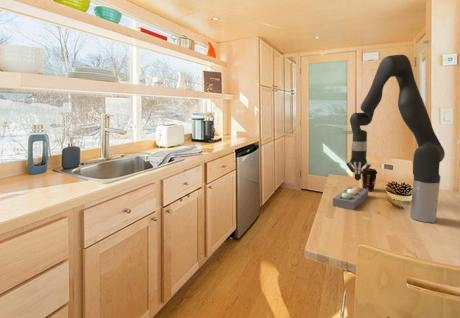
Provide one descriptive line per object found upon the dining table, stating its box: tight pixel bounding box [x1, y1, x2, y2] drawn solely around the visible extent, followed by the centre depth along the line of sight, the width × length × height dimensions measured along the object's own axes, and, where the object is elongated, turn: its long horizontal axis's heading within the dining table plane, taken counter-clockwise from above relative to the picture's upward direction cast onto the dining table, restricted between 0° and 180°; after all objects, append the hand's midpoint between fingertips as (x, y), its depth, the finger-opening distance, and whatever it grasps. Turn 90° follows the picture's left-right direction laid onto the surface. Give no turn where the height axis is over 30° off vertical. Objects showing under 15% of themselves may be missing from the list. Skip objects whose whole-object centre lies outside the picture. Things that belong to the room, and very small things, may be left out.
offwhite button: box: [346, 188, 356, 196], centre depth 143 cm, size 4×4×3 cm
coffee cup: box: [361, 167, 378, 192], centre depth 162 cm, size 9×8×13 cm
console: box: [332, 186, 369, 211], centre depth 143 cm, size 10×28×4 cm, turn 140°
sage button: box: [342, 193, 351, 200], centre depth 136 cm, size 4×4×3 cm
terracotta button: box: [352, 186, 362, 192], centre depth 150 cm, size 4×4×3 cm
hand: (357, 180), depth 149 cm, fingers closed
